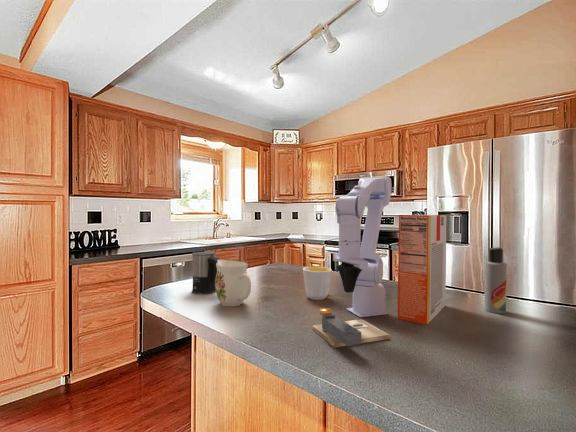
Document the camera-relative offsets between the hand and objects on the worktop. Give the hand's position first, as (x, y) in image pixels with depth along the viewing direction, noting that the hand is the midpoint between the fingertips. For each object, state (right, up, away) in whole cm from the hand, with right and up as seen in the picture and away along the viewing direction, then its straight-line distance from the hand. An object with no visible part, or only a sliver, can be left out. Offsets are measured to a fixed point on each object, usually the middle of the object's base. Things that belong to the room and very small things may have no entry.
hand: (349, 291), depth 87 cm
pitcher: (-34, -9, +20) cm, 41 cm away
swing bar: (-5, -7, -11) cm, 14 cm away
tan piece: (-1, -10, -5) cm, 11 cm away
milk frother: (-45, -9, +40) cm, 61 cm away
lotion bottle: (+49, -10, +15) cm, 52 cm away
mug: (-5, -9, +30) cm, 32 cm away
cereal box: (+26, -10, +14) cm, 31 cm away
